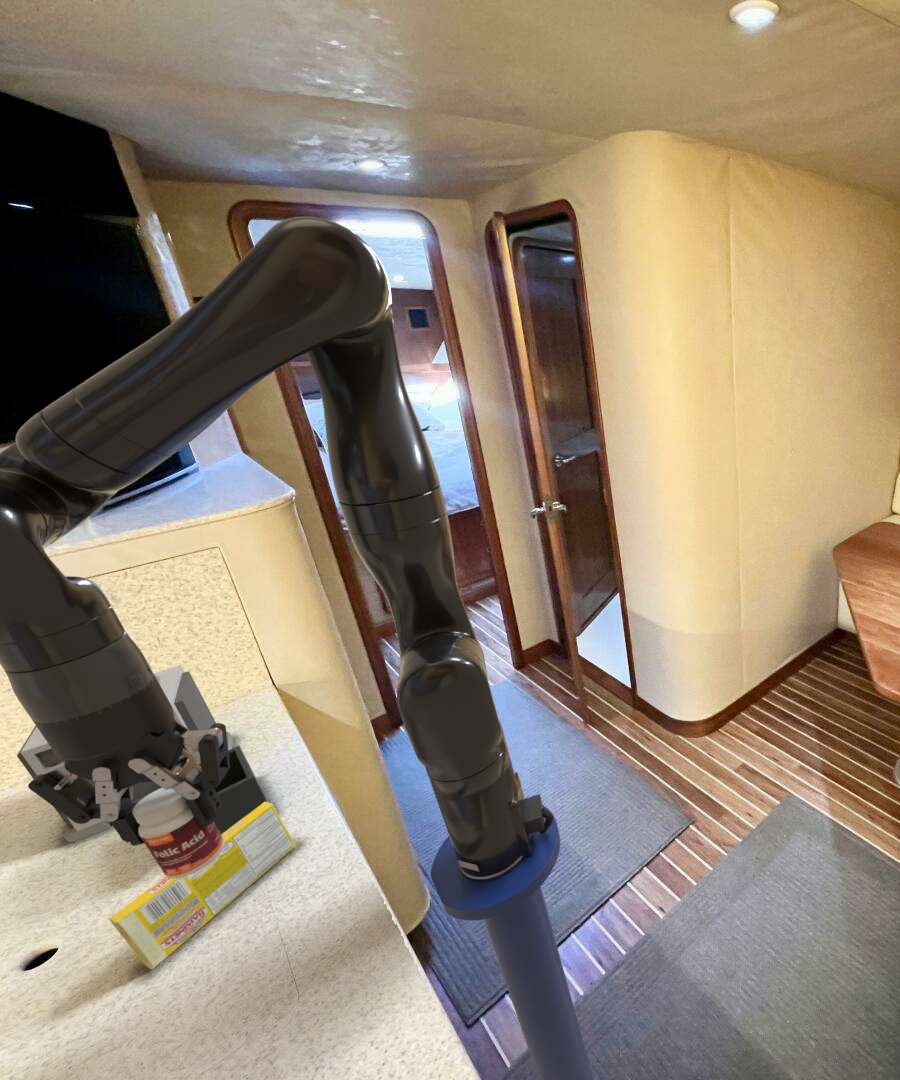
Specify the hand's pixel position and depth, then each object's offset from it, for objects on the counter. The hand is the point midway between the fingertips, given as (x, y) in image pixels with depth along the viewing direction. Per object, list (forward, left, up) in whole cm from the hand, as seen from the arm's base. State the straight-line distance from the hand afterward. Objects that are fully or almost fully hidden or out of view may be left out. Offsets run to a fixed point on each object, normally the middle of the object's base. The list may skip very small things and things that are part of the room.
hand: (177, 827), depth 54 cm
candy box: (+6, -9, -21) cm, 24 cm away
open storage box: (+13, -25, -20) cm, 35 cm away
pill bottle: (0, 0, -5) cm, 5 cm away
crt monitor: (+27, -38, -21) cm, 51 cm away
